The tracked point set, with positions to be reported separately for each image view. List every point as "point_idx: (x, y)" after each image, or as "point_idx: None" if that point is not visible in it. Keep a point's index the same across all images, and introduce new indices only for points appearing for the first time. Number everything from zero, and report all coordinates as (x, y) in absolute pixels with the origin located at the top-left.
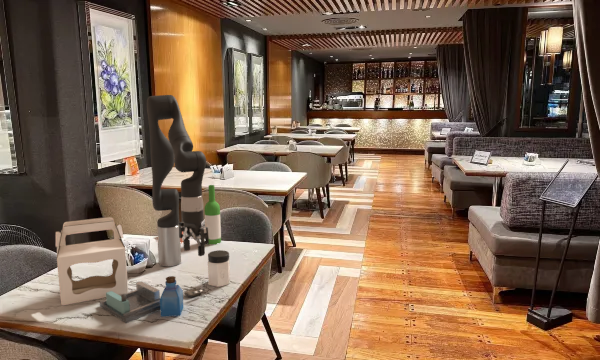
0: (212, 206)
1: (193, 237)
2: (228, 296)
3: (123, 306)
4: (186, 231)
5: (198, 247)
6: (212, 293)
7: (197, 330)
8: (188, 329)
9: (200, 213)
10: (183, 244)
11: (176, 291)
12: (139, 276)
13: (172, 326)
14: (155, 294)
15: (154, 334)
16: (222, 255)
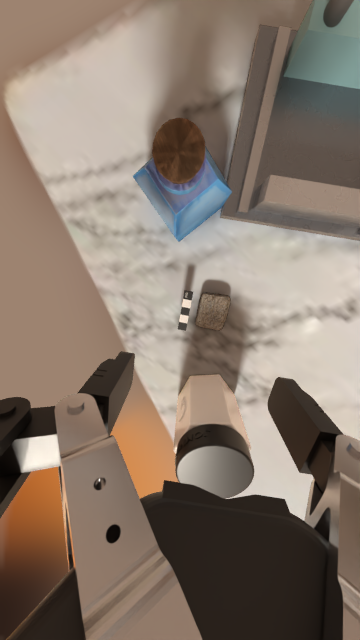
0: None
1: (127, 473)
2: (130, 348)
3: (308, 9)
4: (345, 611)
5: (105, 386)
6: (175, 343)
7: (42, 157)
8: (64, 146)
9: None
10: (325, 414)
11: (142, 168)
12: None
13: (113, 130)
14: (265, 183)
15: (115, 49)
16: (186, 466)
